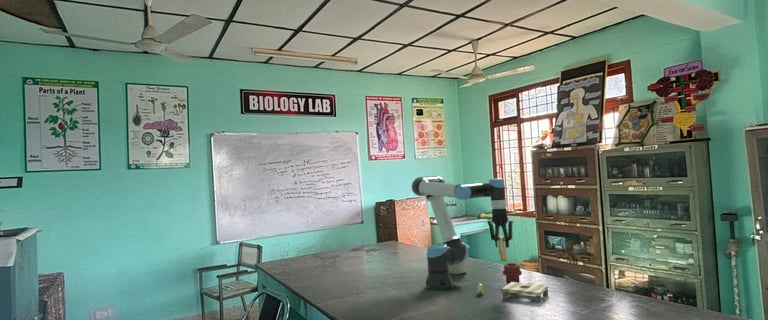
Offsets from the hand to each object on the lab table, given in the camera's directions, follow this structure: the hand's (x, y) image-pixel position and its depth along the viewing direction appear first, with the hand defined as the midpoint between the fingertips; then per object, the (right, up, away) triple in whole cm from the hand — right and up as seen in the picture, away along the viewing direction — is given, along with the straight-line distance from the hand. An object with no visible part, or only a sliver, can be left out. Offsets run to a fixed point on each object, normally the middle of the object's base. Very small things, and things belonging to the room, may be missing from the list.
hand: (503, 253), depth 220 cm
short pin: (-11, -21, 0) cm, 24 cm away
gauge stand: (+9, -20, -9) cm, 23 cm away
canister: (-15, -23, +50) cm, 57 cm away
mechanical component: (+9, -20, +12) cm, 25 cm away
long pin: (0, -4, 0) cm, 4 cm away
